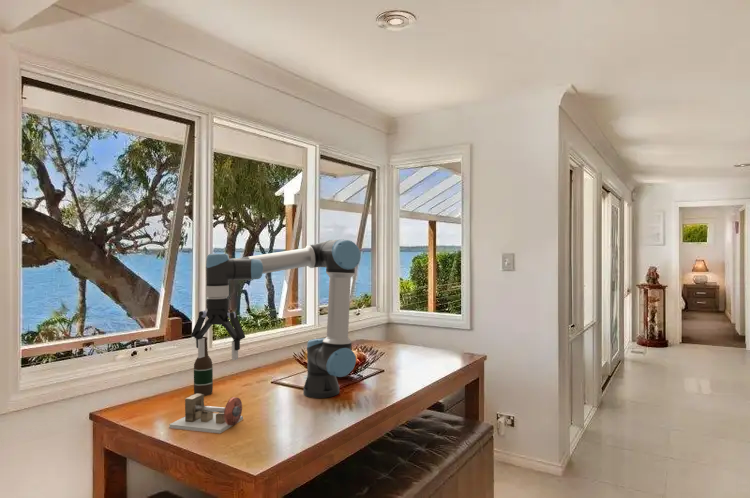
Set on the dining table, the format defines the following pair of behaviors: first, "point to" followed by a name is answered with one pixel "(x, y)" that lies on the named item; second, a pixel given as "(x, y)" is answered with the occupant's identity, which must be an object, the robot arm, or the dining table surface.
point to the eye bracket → (194, 415)
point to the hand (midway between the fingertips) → (217, 358)
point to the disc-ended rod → (226, 410)
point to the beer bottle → (203, 374)
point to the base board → (202, 425)
